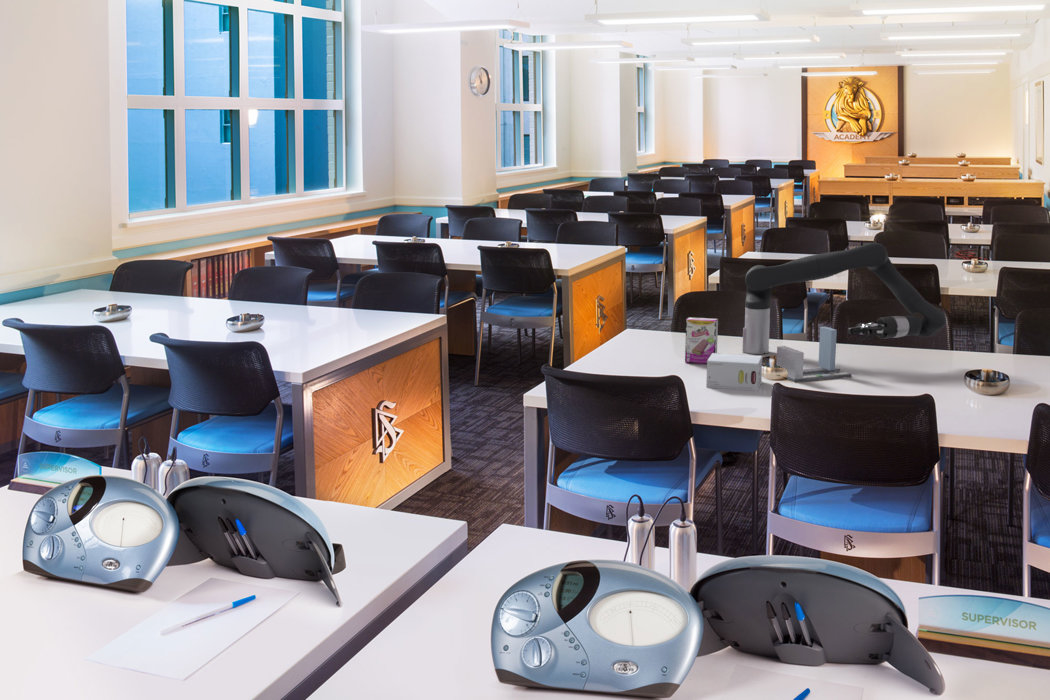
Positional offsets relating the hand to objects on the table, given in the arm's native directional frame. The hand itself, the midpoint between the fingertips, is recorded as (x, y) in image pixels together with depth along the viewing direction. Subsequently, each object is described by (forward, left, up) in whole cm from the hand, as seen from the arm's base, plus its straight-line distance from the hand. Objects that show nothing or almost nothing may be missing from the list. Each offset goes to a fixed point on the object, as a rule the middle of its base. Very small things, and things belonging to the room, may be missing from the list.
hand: (849, 331), depth 353 cm
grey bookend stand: (-9, -11, -14) cm, 20 cm away
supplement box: (-30, -34, -15) cm, 48 cm away
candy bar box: (-51, -6, -15) cm, 54 cm away
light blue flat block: (-5, -7, -13) cm, 15 cm away
